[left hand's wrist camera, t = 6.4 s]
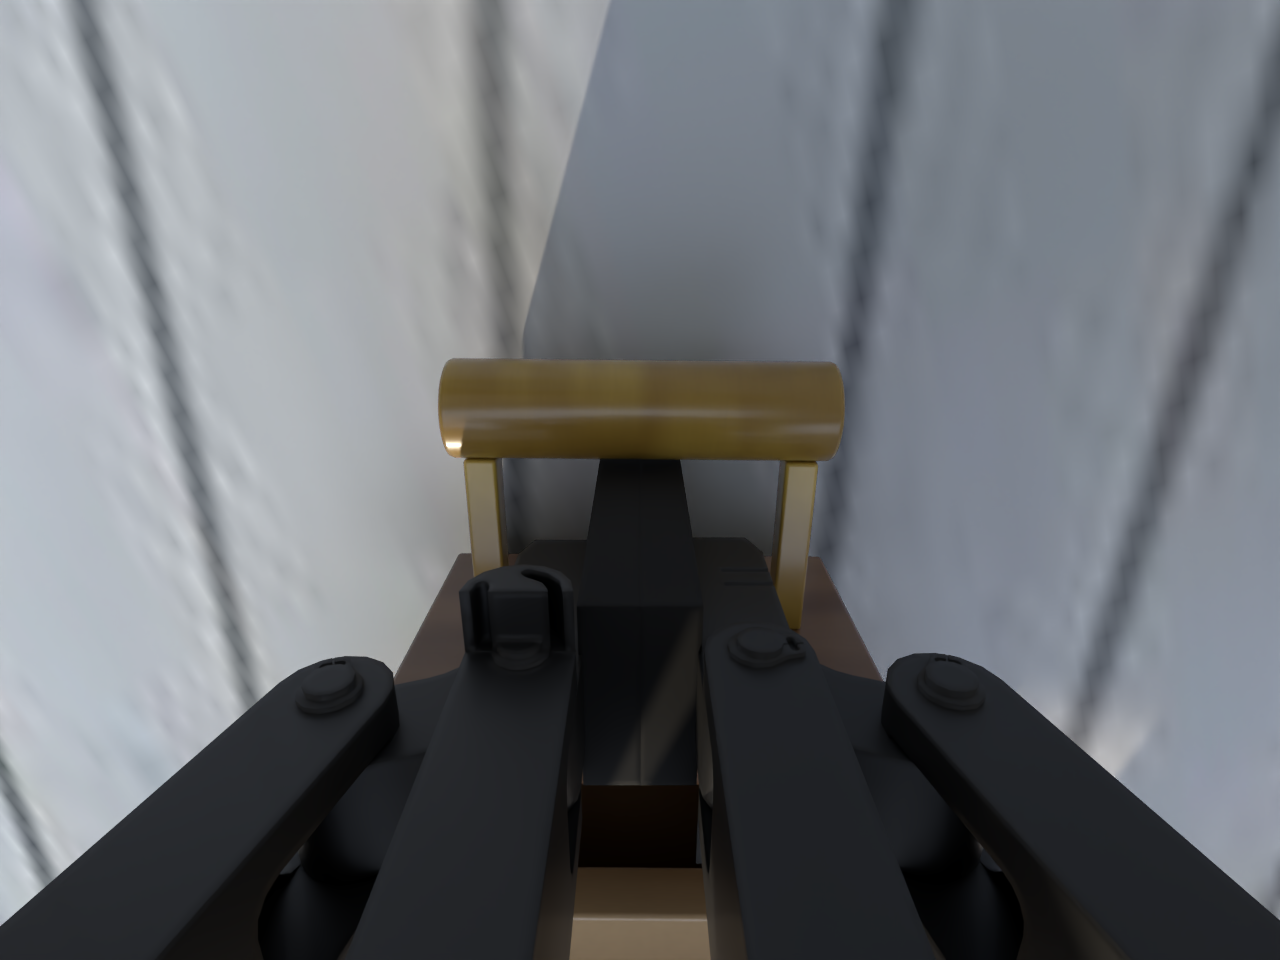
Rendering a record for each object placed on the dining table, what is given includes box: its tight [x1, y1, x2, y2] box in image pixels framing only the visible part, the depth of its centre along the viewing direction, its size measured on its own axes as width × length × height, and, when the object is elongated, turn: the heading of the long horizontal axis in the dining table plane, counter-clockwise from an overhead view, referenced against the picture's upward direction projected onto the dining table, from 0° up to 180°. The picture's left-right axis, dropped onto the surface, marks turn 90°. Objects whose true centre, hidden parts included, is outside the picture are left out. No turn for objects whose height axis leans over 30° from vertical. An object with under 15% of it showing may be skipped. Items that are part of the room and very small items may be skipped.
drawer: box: [394, 358, 883, 868], centre depth 16 cm, size 24×9×6 cm, turn 179°
